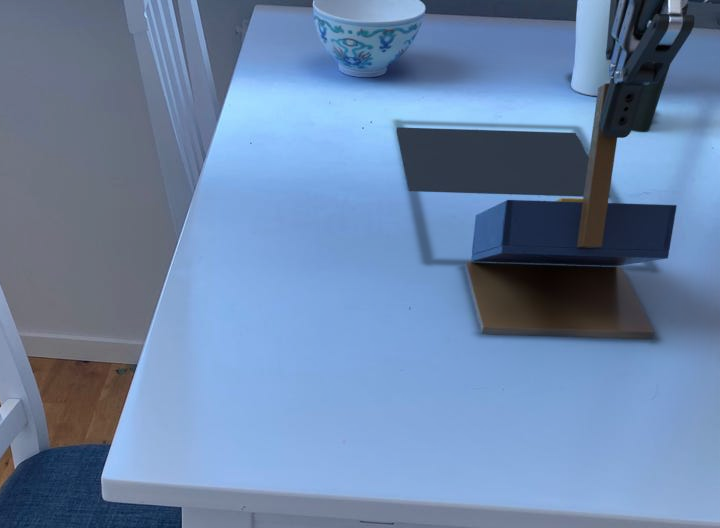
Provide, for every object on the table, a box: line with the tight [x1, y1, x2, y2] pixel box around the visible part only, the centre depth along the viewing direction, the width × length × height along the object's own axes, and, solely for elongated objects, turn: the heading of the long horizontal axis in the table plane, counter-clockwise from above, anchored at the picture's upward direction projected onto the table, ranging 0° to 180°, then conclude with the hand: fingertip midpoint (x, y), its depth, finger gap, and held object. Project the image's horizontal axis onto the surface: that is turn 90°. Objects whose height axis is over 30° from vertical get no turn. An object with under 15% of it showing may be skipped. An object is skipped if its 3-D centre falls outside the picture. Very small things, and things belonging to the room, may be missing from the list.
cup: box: [570, 0, 613, 97], centre depth 122 cm, size 10×10×14 cm
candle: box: [631, 3, 689, 132], centre depth 110 cm, size 5×5×25 cm
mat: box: [396, 126, 611, 199], centre depth 104 cm, size 22×36×1 cm, turn 178°
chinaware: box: [312, 0, 427, 78], centre depth 128 cm, size 15×15×8 cm
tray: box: [470, 83, 678, 267], centre depth 82 cm, size 14×14×12 cm
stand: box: [464, 261, 655, 340], centre depth 87 cm, size 15×12×2 cm
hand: (612, 133), depth 74 cm, fingers closed
